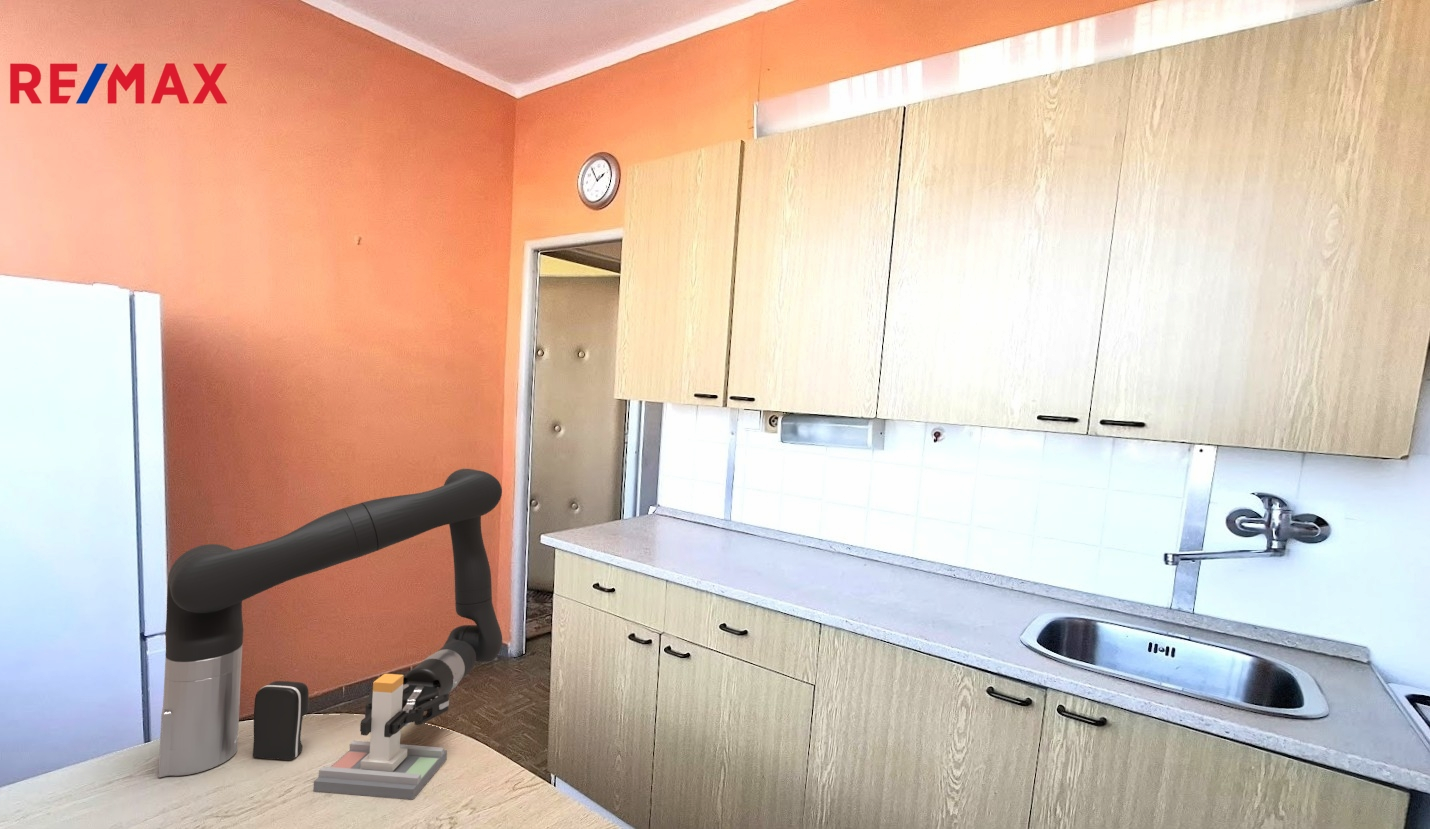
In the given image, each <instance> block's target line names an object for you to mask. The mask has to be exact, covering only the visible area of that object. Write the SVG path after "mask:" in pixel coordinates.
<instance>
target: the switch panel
mask: <svg viewBox="0 0 1430 829" xmlns="http://www.w3.org/2000/svg"><path fill="white" fill-rule="evenodd" d="M400 748H405V749H408V750H407V757H406V758H405V759H404V760H403V761H402V762H401V763H400V764H399V765H398V766H397V767H396V768H395V769H394V770H393V772H391V771H379V770H367V769H360V766H361V760H362V759H364V758H365V757H366V756H367V755H368V754H369V753H370V741H365V740H364V741H363V740H352V741H351V743H349V750H347V751H346V753H345V754H343V755H342V756H341V757H340V758H339V759H338V760H336V762H334V763H332V764H331V766H322V767H321V768H319V770H318V777H317V778H315V779H314V780H313V789H312V791H313V792H319V793H329V792H330V793H332V794H340V793H342V794H341V795H353V796H354V795H355V796H364V797H365V796H366V797H379V798H388V799H389V798H391V799H400V800H414V799H415V798H416V796H418V794H419V793H420V791H422V790H423V788H424V787H426V785H427V783H428V782H429V781H430V780H431V779H432V778H433V776H434V775H435V774H436V773H437V771H438V770H439V769H440V768H441V767H442V766H443V765H444V763H445V762H446V761H447V758H448V757H447V756H448V754H447V753H448V750H445V747H440V746H438V747H436V746H427V745H413V744H401V743H400Z"/></svg>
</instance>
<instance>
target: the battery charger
mask: <svg viewBox="0 0 1430 829" xmlns="http://www.w3.org/2000/svg"><path fill="white" fill-rule="evenodd" d="M309 692H310V691H309V687H308V685H306V684H305V683H304V682H298V681H289V680H277V681H272V682H270V683H268V684H267V685H264V686H262V687H261V688H260V689H259V690H257V692H256V694H255V698H254V706H253V743H252V744H253V746H252V748H253V749H252V757H253V758H258V759H266V760H282V761H283V760H285V761H286V760H293V759H296V758H297V757H298V755H299V754H301V752H302V751H303V744H302V741H301V737H302V736H301V733H302V724H303V718H304V716H306V715H307V714H308V712H309V703H310V702H309V701H310V700H309V698H310V697H309V695H310V694H309Z"/></svg>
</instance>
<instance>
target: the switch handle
mask: <svg viewBox="0 0 1430 829" xmlns="http://www.w3.org/2000/svg"><path fill="white" fill-rule="evenodd" d="M404 677H405V675H404V674H398V673H397V674H395V673H384V674H382V675H381V676H379V677H378V678H377V679H376V680H374V681H373V683H372V689H373V698H372V722H371V732H370V737H369V740H370V741H369V742H370V753H369V754H368V755H367V756H366V757H365V758H364V759H362V760H361V766H360V769H367V770H379V771H391V772H393V770H394V769H395V768H396V767H397V766H398V765H399V764H400V763H401V762H402V761H403V760H404V759H405V758H406V757H407V750H408V749H405V748H400V744H401V734H402V733H401V732H402V731H401V730H402V729H401V730H399V731H398V732H397V733H396V734H393V735H392V736H391V737H384V729H385V724H386V722H387V721H389V720H390V719H391V718H392V717H393V716H394V715H396V714H397V713H398V712H399V711H400V712H402V696H403V678H404Z"/></svg>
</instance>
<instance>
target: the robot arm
mask: <svg viewBox="0 0 1430 829" xmlns="http://www.w3.org/2000/svg"><path fill="white" fill-rule="evenodd" d="M502 496H503V488H502V485H501V483H500V481H499V480H498V479H497V478H496V477H495V476H494V475H492V474H491V473H489V472H486V471H483V470H477V469H473V468H461V469H458V470H455V471H453V472H452V473H450V475H448V476H447V478H446V480H444V484H443V485H442V486H438V487H437V488H436V487H435V488H433V489H430V490H427V491H423V492H417V493H409V494H402V495H394V496H388V497H380V498H375V499H371V500H366V501H361V502H360V503H355V504H352V505H350V506H346V507H342V508H340V509H336V510H334V511H331V512H329V513H326V514H323V515H322V516H319V517H317V518H315V519H313V520H312V521H310V522H308V523H306V524H304V525H302V526H300V527H298V528H297V529H295V530H293V531H291V532H289V533H287V534H284V535H283V536H280V537H278V538H275V539H271V540H268V541H265V542H261V543H257V544H254V545H250V546H249V545H248V546H246V547H242V548H238V549H233V548H230V547H228V546H227V545H222V544H215V543H214V544H213V543H212V544H211V543H210V544H203V545H199V546H196V547H193V548H191V549H189V550H187V551H185V552H184V553H183V554H180V556H179V557H178V558H177V559H176V560H175V561H174V563H173V564H172V565H171V568H170V570H169V573H168V579H167V593H166V595H167V596H166V613H165V614H166V620H165V658H164V659H165V661H164V662H165V663H164V680H163V681H164V683H163V699H162V703H163V704H162V710H161V716H160V719H161V720H160V735H159V736H160V737H159V738H160V739H159V752H158V753H159V754H158V755H159V758H158V773H157V774H158V776H157V777H158V778H163V777H168V776H172V777H174V776H176V777H177V776H178V777H179V776H186V775H187V776H188V775H194V774H197V773H201V772H204V771H208V770H210V769H213V768H215V767H218V766H220V765H221V764H224V763H226V762H227V761H228V760H230V759H231V758H232V757H234V755H235V754H236V753H237V752H238V744H239V743H238V741H239V718H240V702H241V699H240V698H241V682H242V680H241V679H242V663H243V662H242V660H243V642H244V623H243V622H244V621H243V608H242V607H243V601H245V600H247V599H250V598H252V597H254V596H256V595H258V594H261V593H262V592H265V591H268V590H269V589H272V588H273V587H277V586H278V585H281V584H283V583H286V582H288V581H291V580H294V579H297V578H300V577H302V576H305V575H309V574H312V573H315V572H319V571H323V570H325V569H328V568H330V567H334V566H338V565H339V564H342V563H345V562H349V561H352V560H355V559H358V558H360V557H364V556H366V555H369V554H372V553H375V552H377V551H380V550H383V549H385V548H388V547H391V546H394V545H395V544H398V543H401V542H404V541H407V540H409V539H411V538H414V537H416V536H419V535H421V534H424V533H426V532H429V531H430V530H433V529H437V528H439V527H443V526H447V525H448V526H449V532H450V537H451V545H452V554H453V555H452V556H453V568H454V569H453V570H454V571H453V572H454V573H453V574H454V599H455V600H454V602H455V603H454V604H455V613H456V615H457V616H459V617H462V618H463V619H464V618H465V619H468V620H471V621H473V623H475V624H465V625H463V624H462V625H460V626H457V627H455V628H453V629H452V630H451V631H450V633H449V635H448V637H447V640H446V641H445V643H444V644H443V646H442V647H441V648H440V649H438V650H437V651H436V652H434V653H432V654H430V655H429V656H428V657H426V658H425V659H424V660H421V662H420V663H418V664H417V665H416V666H415V667H413V668H412V669H411V670H410V671H408V672H407V673H406V674H405V675H404V677H403V696H402V712H400V711H399V712H398V713H397V714H396V715H394V716H393V717H392V718H391V719H390V720H389V721H387V722H386V724H385V729H384V737H391V736H392V735H393V734H396V733H397V732H398V731H399V730H402V729H403V728H404V727H408V726H409V725H411V723H414V725H417V726H420V725H423V724H424V723H426V722H428V721H431V720H433V719H434V718H436V717H438V716H440V715H442V714H444V713H446V712H448V711H449V709H450V708H449V706H450V693H452V691H453V690H455V689H456V687H457V686H458V684H459V683H460V681H461V680H462V679H464V678H465V677H466V676H467V675H468V674H469V673H470V672H471V670H472V669H473V667H474V666H475V663H476V662H491V661H494V660H495V659H496V658H497V657H498V655H499V654H500V652H501V649H502V647H503V635H502V634H503V633H502V630H501V627H500V624H499V622H498V618H497V615H496V611H495V608H494V604H493V594H492V592H493V590H492V589H493V588H492V574H491V573H492V572H491V566H490V561H489V558H488V554H487V552H486V548H485V545H484V539H483V532H482V516H484V515H487V514H489V513H490V512H491V511H493V510H494V509H495V508H496V507H497V505H498V504H499V502H500V500H501V498H502ZM372 698H373V688H372V689H370V692H369V694H368V698H367V700H366V702H365V710H364V718H363V719H361V720H360V724H359V726H360V727H359V731H360V735H361V736H368V735H369V734H371V722H372ZM424 712H426V714H424Z"/></svg>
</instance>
